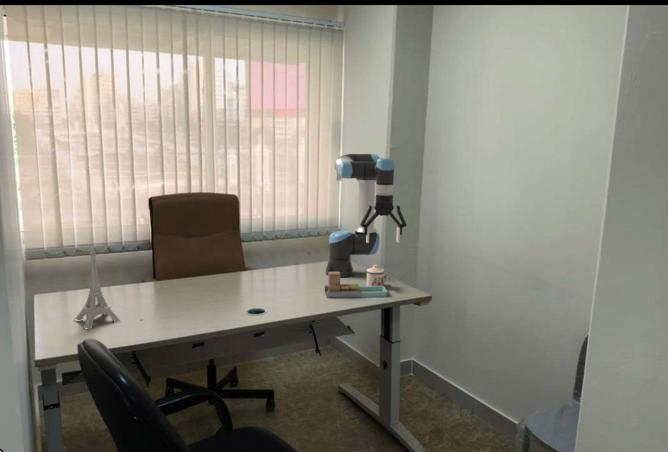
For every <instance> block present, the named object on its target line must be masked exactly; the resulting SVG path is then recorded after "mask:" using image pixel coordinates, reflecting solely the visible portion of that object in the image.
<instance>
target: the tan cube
mask: <svg viewBox="0 0 668 452" xmlns="http://www.w3.org/2000/svg"><path fill="white" fill-rule="evenodd" d="M349 285H350V283H343V284H341V283H340V291H350V286H349Z"/></svg>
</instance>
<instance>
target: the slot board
mask: <svg viewBox="0 0 668 452" xmlns="http://www.w3.org/2000/svg"><path fill="white" fill-rule="evenodd" d="M349 286H350V284H349ZM361 292H362V291H328V285H324V294H325V296H326V299H357V298H358V299H359V298H363V297H361Z"/></svg>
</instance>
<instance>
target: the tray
mask: <svg viewBox="0 0 668 452" xmlns="http://www.w3.org/2000/svg"><path fill="white" fill-rule="evenodd" d="M359 291H361V297H362V298H371V297H372V298H373V297H374V298H377V297H378V298H379V297H380V298H381V297H383V298H384V297H388V296H389V292H388V290H387V289H386V287H385V285H384V286H366V285H359Z"/></svg>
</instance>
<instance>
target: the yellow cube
mask: <svg viewBox="0 0 668 452" xmlns="http://www.w3.org/2000/svg"><path fill="white" fill-rule="evenodd" d="M349 285H350V291H359V286H360V285H359V284H358V283H349Z"/></svg>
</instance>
